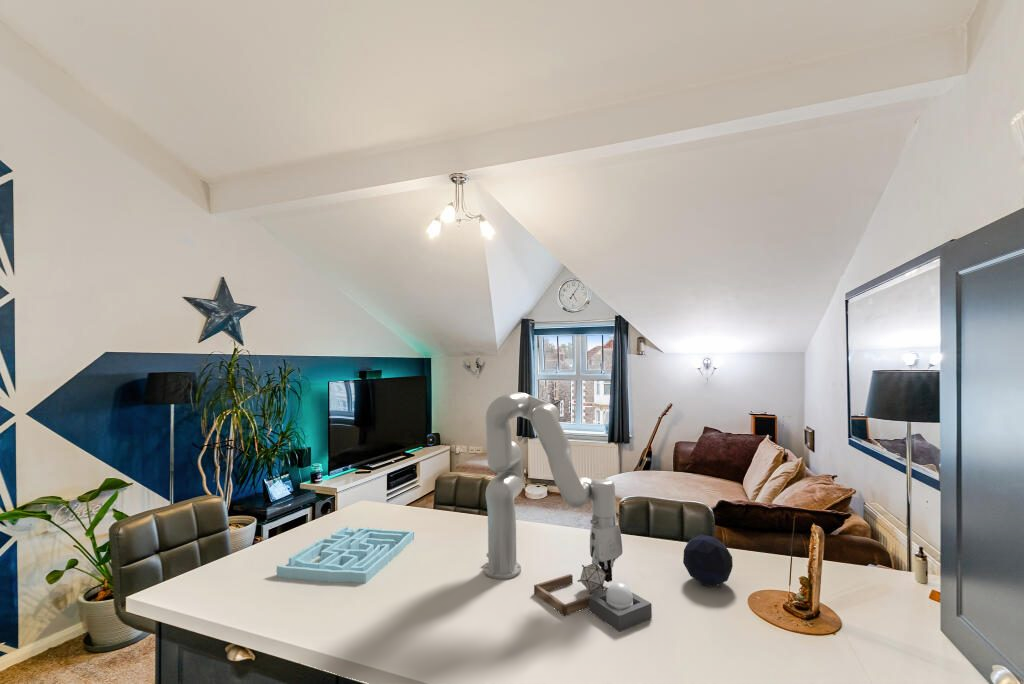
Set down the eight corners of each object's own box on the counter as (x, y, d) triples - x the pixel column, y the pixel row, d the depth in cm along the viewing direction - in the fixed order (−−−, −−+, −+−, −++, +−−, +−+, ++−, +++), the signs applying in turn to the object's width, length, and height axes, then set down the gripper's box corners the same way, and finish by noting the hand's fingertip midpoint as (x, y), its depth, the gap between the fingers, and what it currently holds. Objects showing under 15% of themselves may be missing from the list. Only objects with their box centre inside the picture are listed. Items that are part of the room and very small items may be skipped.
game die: (601, 604, 140) (611, 585, 135) (573, 595, 140) (583, 576, 135) (602, 577, 147) (611, 559, 142) (576, 569, 148) (585, 550, 143)
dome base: (588, 611, 130) (588, 596, 130) (620, 599, 136) (620, 585, 136) (619, 631, 119) (619, 616, 120) (651, 618, 126) (651, 603, 126)
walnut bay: (534, 593, 140) (534, 585, 140) (570, 582, 147) (570, 573, 147) (564, 616, 127) (564, 607, 127) (602, 602, 134) (602, 593, 134)
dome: (601, 608, 129) (600, 581, 129) (620, 600, 133) (619, 575, 133) (619, 620, 123) (618, 592, 123) (638, 612, 126) (638, 585, 127)
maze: (341, 534, 192) (341, 525, 192) (415, 540, 186) (415, 530, 186) (273, 578, 153) (273, 567, 153) (365, 586, 147) (365, 574, 147)
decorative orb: (667, 556, 153) (684, 528, 145) (704, 549, 158) (722, 523, 150) (691, 598, 142) (711, 571, 134) (730, 591, 147) (751, 564, 139)
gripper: (594, 528, 138) (597, 591, 137) (630, 518, 146) (632, 578, 145) (578, 521, 145) (580, 581, 144) (613, 512, 153) (615, 569, 152)
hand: (606, 579), depth 144 cm, fingers closed
